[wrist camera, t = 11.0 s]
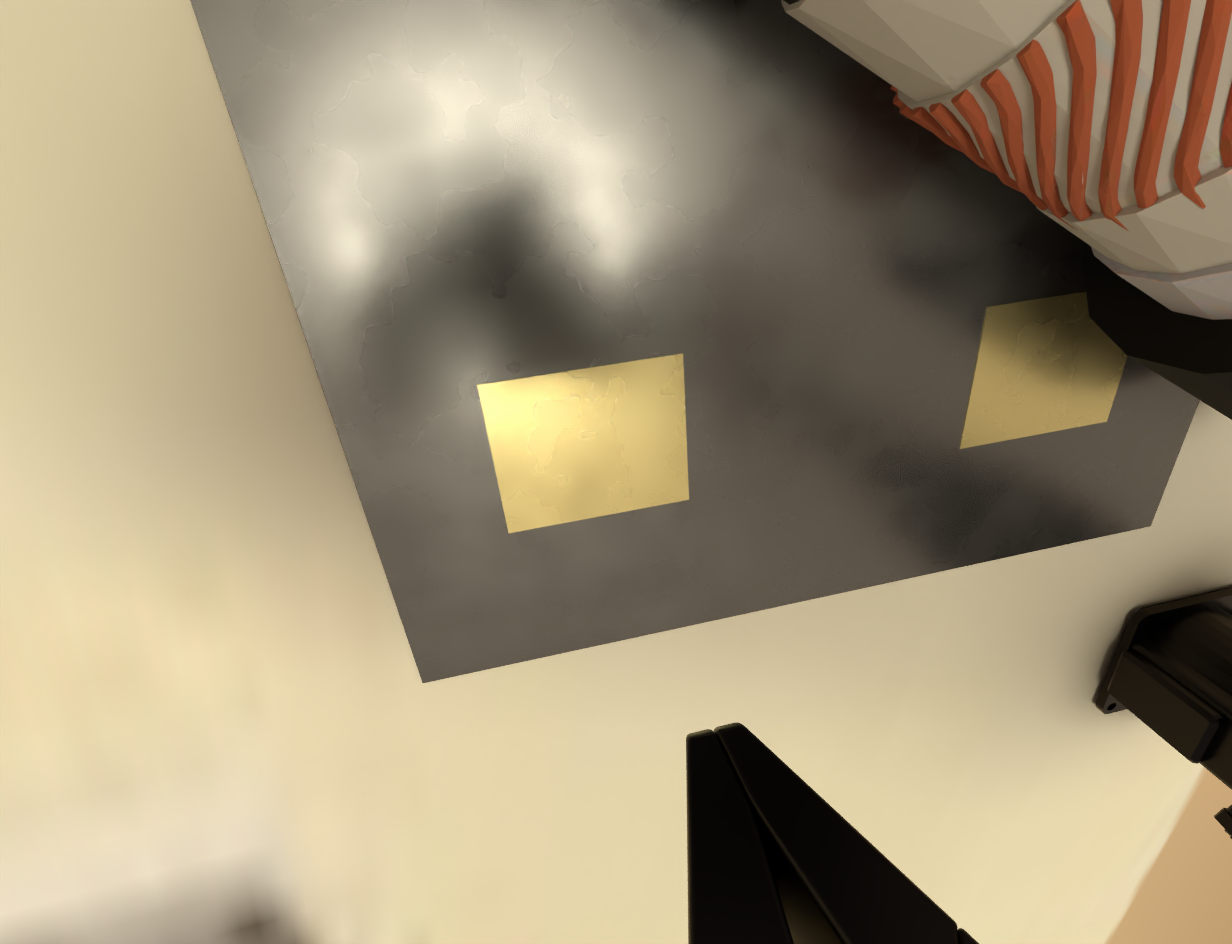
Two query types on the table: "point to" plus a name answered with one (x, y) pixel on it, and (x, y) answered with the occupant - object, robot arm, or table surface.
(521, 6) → the plate
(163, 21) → the table surface
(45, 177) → the table surface
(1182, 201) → the banded tapered cylinder
